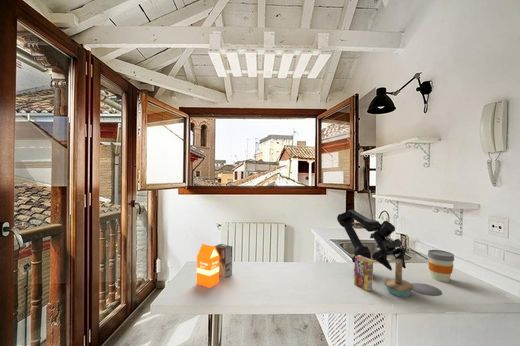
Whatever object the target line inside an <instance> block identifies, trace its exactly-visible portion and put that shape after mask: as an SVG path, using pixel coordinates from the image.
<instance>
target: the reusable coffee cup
mask: <svg viewBox="0 0 520 346" xmlns="http://www.w3.org/2000/svg"><path fill="white" fill-rule="evenodd" d="M454 261H455V254H454V253H451V252H449V251H446V250H440V249H429V250H428V252H427V263H428V269H429V275H430V278H431V279H432V280H435V281H437V282H442V283H443V282H444V283H448V282H450V281H451V275H452V273H453V271H454Z"/></svg>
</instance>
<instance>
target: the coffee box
mask: <svg viewBox="0 0 520 346" xmlns="http://www.w3.org/2000/svg"><path fill="white" fill-rule="evenodd" d="M213 246H214V247H215V248H216V250H217V252H218V254H219V277H223V278H227V277H230V276H231V274H232V275H233V246H232V245H227V244H223V243H220V244H216V245H213ZM229 275H230V276H229Z"/></svg>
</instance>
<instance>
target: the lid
mask: <svg viewBox="0 0 520 346" xmlns="http://www.w3.org/2000/svg"><path fill="white" fill-rule="evenodd" d="M394 272H395V273H394V275H395V276H394V277H393V278H392V277H389V278H386V279H384V280H383V284H384V285H385V286H387V287H389V288H391V289H394V290H398V291H413V285H412V284H411V283H412V282H410V281H407V280H404V279H403V267H402V259H395V270H394Z"/></svg>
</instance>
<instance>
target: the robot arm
mask: <svg viewBox="0 0 520 346" xmlns="http://www.w3.org/2000/svg"><path fill="white" fill-rule="evenodd" d="M353 220H354V221H356V222H358V223H359V224H361V225H362V227H363V229H364V230H366V231H367V232H370V237H369V239H373V240H374V241H375V243H376V244H377V245H376V248H377V250H376V251H374V253H372V254H371V251H370V249H369V247H368V246H367V245H366V246H365V245H363V244H362V242H361V239H360V238H359V236H358V234H357V232H356V230H355V228H354V226H353ZM336 221H337V222H338V224H339V225H340V226H341V227H343V228H344V230H345V232H346V234H347V235H348V237H349V240H350V242H351V244H352V246H353V248H354V249H353V250H354V252H353V253H354V256H352V258H351V262H352V263H354V264H355V256H358V255H360V256H363V257H366V258H368V259H371V260H373V261H375V262H378V263H379V264H381V265H383V267H385V268H386V269H388V270H389V271H391V272H392V271H393V268H392V265H391V264H390V261H389V260H388V256H393V257H394V259H395V260H396V259H402V269H406V268H407V265H406V261H405V255H406V253H407V250H406V248H405V247H403V246H402V245H403V243H402V241H401V239H400V238H395V239H394V240H392V241H391V240H388V237H390V235H392V234H393V233H394V232H395V231H396V227H395V225H394V224H392V223H391V222H389V221H388V220H384V221H383V222H382V223H380V222H379V221H378V220H376V219H373V218H372V219H371V218H368V217H367V216H364V215H363V214H361V213H359V212H357V211H356V210H354V209H349V210H347V211H345V212H342V213H339V214H337V217H336ZM371 232H372V233H371ZM401 246H402V247H401ZM353 271H354V272H355V268H354V269H353Z"/></svg>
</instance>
